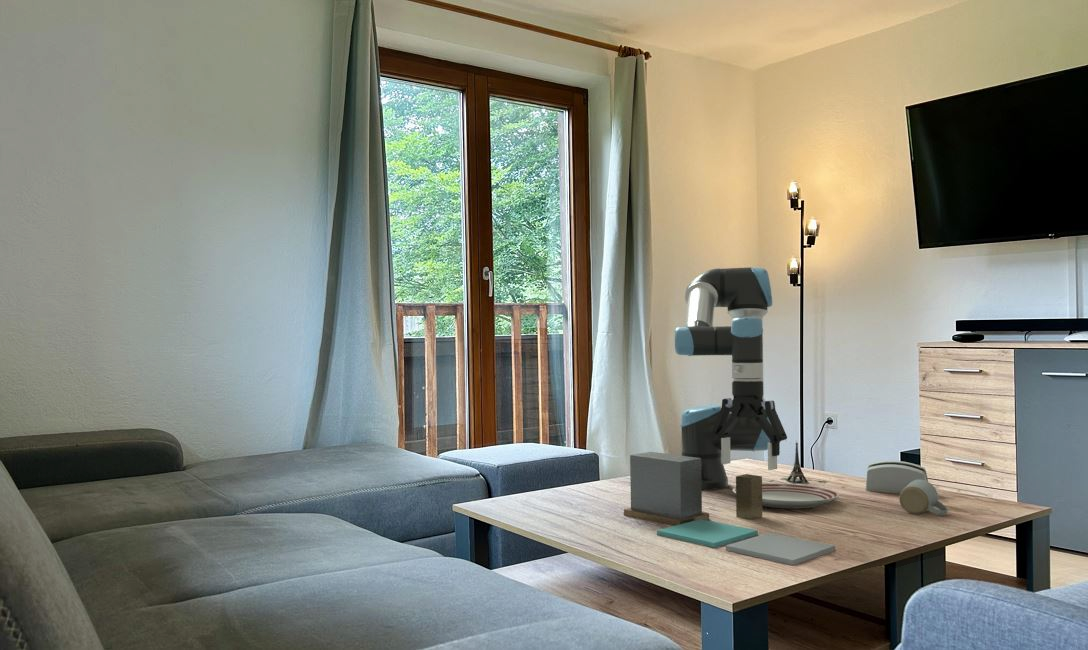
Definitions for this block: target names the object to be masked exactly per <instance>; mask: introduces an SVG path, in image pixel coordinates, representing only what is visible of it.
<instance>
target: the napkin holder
mask: <svg viewBox="0 0 1088 650" xmlns="http://www.w3.org/2000/svg"><path fill="white" fill-rule="evenodd" d="M914 480H925V481H928V482H929V480H928V475H927V470H926V468H925V467H923V466H922V465H919V464H915V463H911V462H907V461H901V460H882V461H876V462H873V463H872V462H871V463H870V464H869V465H868V467H867V470H866V480H865V491H867V492H881V493H892V494H900V493H901V491H902V490H903V489H904V488H905V487H906V486H907V485H908V484H909V483H910V482H912V481H914Z"/></svg>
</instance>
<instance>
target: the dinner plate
mask: <svg viewBox="0 0 1088 650" xmlns="http://www.w3.org/2000/svg"><path fill="white" fill-rule="evenodd" d="M732 492H733V493H734V495H736V486H735V487H733V488H732ZM839 497H840V493H839V492H837V491H836V490H833V489H829V488H826V487H820V486H813V485H807V484H792V483H776V482H775V483H762V507H767V508H773V509H775V508H778V509H810V508H816V507H819V506H821V505H823V504H826V503H830V502H832V501H833V500H836V499H837V498H839Z"/></svg>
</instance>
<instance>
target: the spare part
mask: <svg viewBox="0 0 1088 650" xmlns="http://www.w3.org/2000/svg"><path fill="white" fill-rule="evenodd" d="M762 484H763V476H762V475H756V474H748V473H746V474H740V475H736V476H735V487H736V494H735V501H736V502H735V507H736V508H735V509H736V510H735V512H736V515H735V516H736V518H740V519H746V520H756V519H761V518H763V506H762Z"/></svg>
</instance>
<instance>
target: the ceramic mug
mask: <svg viewBox="0 0 1088 650" xmlns="http://www.w3.org/2000/svg"><path fill="white" fill-rule="evenodd" d="M898 499H899V503H900V507H902V509H903V510H904V511H906V512H907V513H909V514H911V515H921V514H924V513H925V512H930V513H931V514H933V515H936V516H940V517H945V516H946V515H947V514H948V511H949V509H948V507H947V506H946V505H944V504H943V502H941V501H939V500H938V499H939V494H938V490H937V489H936V487H935V486H934V485H933V484H932V483H931V482H929V480H928V481H925V480H914V481H912V482H910V483H909V484H908V485H907V486H906V487H905V488H904V489H903V490H902V491H901V493H899V497H898Z"/></svg>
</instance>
